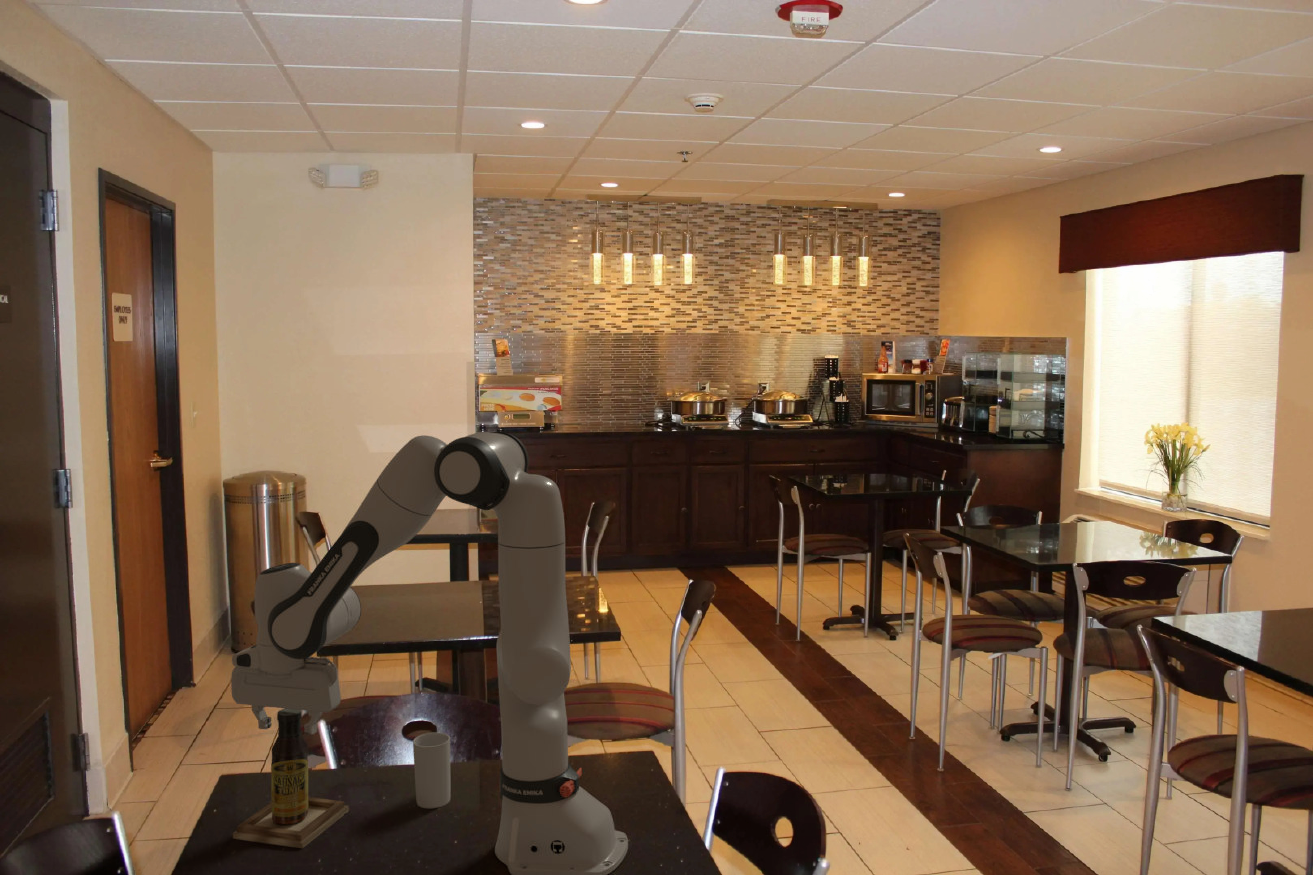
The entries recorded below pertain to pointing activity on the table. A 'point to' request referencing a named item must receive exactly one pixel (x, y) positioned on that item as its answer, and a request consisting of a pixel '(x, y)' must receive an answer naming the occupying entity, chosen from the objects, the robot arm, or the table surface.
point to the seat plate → (295, 834)
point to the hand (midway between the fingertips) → (287, 730)
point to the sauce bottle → (289, 770)
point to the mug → (432, 769)
